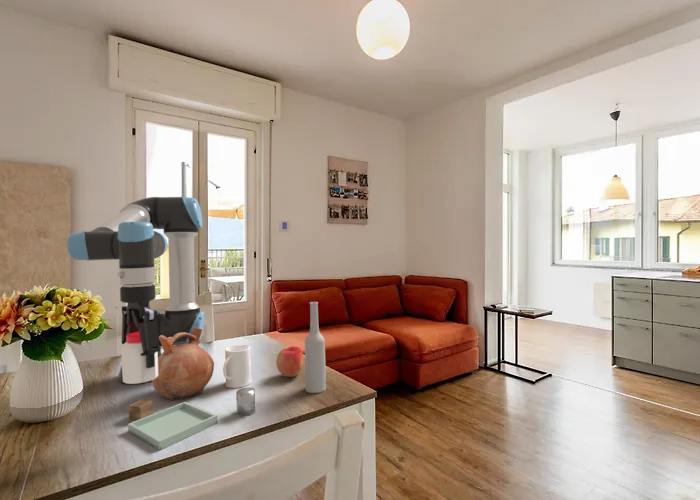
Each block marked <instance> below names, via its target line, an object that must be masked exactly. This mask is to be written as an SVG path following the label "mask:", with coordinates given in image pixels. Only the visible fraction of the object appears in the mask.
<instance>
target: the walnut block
mask: <svg viewBox="0 0 700 500" xmlns="http://www.w3.org/2000/svg"><path fill="white" fill-rule="evenodd" d="M153 405H154V404H153V400H147V399H139V400H137V401H135V402H133V403H131V404H130V405H128V416H129V417H128V420H129V421H132V422H134V421H137V420H139V419H142V418H144V417H147V416H149V415H152V414H154V411H153V410H154V409H153Z"/></svg>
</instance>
